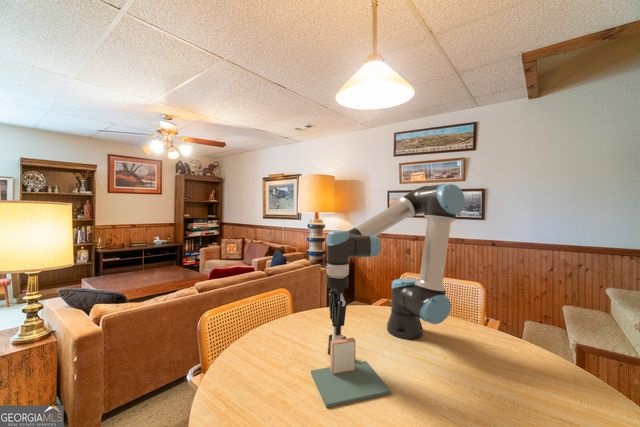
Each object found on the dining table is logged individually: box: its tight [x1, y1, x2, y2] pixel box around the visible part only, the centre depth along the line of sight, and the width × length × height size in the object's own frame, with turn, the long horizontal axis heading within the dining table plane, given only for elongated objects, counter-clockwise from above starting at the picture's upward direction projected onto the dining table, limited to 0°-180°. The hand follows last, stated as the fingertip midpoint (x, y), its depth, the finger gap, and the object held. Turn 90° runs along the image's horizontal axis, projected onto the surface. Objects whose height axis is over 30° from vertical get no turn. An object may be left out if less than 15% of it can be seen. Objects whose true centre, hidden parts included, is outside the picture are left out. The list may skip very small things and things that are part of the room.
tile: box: [329, 337, 357, 374], centre depth 89 cm, size 8×2×10 cm, turn 107°
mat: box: [310, 360, 392, 409], centre depth 84 cm, size 20×16×1 cm
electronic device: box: [327, 333, 347, 355], centre depth 99 cm, size 4×10×8 cm, turn 45°
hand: (336, 342), depth 94 cm, fingers closed
